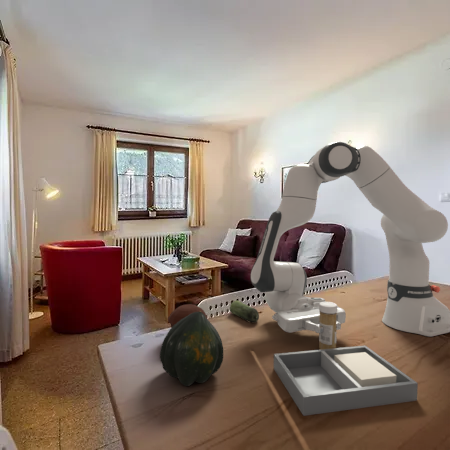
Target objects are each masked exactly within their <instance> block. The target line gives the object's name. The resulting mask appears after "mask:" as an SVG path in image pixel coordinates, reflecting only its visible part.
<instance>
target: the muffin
mask: <svg viewBox="0 0 450 450" xmlns="http://www.w3.org/2000/svg"><path fill="white" fill-rule="evenodd" d="M199 311H201V312H202V313H203V314H204V315H205V317H206V318H207V319H208V315H207V314H206V312H205V310H204V309H203V308H202V307H200V306H198V305H196V304H183V305H180V306H178V307H177V308H175V309H174V310H172V312H171V313H170V314H169V316H168V318H167V322H168V323H169V324H170V327H171V328H172V327H173V326H174V325H175V324H176V323H177V322H179V321H180V320H181V319H183V318H185V317H186V316H188V315H190V314H191V313H194V312H199ZM171 328H170V329H171Z"/></svg>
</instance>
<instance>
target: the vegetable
mask: <svg viewBox="0 0 450 450" xmlns="http://www.w3.org/2000/svg"><path fill="white" fill-rule="evenodd" d="M229 310H230V313H231V314H232V315H235V316H237V317H240V318H241V319H242V320H244V321H247V322H248V323H257V322H258V321H259V318H260V314H259V312H258V309H256V308H254V307H252V306H250V305H248V304H245V303H243V302H241V301H239V300H234V301H232V302H231V304H230V306H229Z"/></svg>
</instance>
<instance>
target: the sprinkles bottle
mask: <svg viewBox="0 0 450 450" xmlns="http://www.w3.org/2000/svg"><path fill="white" fill-rule="evenodd" d="M337 306H338V304H337V303H335V302H332V301H325V302H321V303H319V310H320V311H319V312H320V321H319V324H320V325H322V326H323V332H322V333H318V341H319V342H318V343H319V344H318V345H319V346H318V350H322V349H333V348H337V333H338V332H337V330H336V314H337Z"/></svg>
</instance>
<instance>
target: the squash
mask: <svg viewBox="0 0 450 450" xmlns="http://www.w3.org/2000/svg"><path fill="white" fill-rule="evenodd" d="M159 359H160V363H161V365H162V369H163V370H164V371H165V372H166V373H167V374H168V375H170V376H171V377H172V378H176V379H177V378H178V381H179V383H180V384H181V385H183V386H185V387H189V386H191V385H192V384H194V383H195V382H196V383H198V384H204V383H205V382H207V381H208V380H210V379H209V378H210V377H211V376H212V375H214V374H215V373H218V372H217V371H219V370H220V368H221V366H222V364H223V361H224V345H223V342H222V339H221V336H220V334H219V332H218V330H217V329H216V328H215V326H214V325H213V324H212V323H211V321H210V320H209V319H208V317H207V318H206V317H205V315H204V314H203V313H202V312H201V311H199V312H194V313H191V314H190V315H188V316H186V317H185V318H183V319H181V320H180V321H179V322H177V323H176V324H175V325H174V326H173V327H172V328H170V329H169V330H168V332H167V334H166V335H165V337H164V339H163V341H162V344H161V347H160V352H159Z"/></svg>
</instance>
